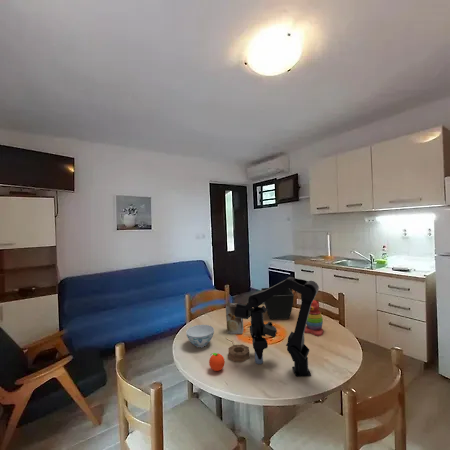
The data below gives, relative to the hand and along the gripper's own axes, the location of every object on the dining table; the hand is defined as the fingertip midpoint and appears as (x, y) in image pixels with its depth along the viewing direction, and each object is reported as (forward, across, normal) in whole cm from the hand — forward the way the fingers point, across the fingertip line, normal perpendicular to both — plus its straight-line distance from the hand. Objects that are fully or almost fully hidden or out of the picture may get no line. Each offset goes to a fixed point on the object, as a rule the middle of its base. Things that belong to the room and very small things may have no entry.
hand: (258, 353), depth 119 cm
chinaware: (+4, +19, +29) cm, 35 cm away
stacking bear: (+4, +29, -35) cm, 46 cm away
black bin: (+4, +54, -19) cm, 57 cm away
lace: (+4, +18, +13) cm, 22 cm away
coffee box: (+4, +33, +10) cm, 35 cm away
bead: (+4, +6, +9) cm, 12 cm away
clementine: (+4, -4, +20) cm, 20 cm away
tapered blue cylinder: (+4, 0, 0) cm, 4 cm away
